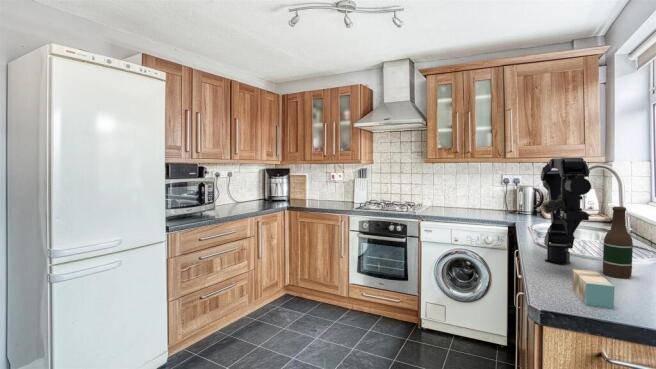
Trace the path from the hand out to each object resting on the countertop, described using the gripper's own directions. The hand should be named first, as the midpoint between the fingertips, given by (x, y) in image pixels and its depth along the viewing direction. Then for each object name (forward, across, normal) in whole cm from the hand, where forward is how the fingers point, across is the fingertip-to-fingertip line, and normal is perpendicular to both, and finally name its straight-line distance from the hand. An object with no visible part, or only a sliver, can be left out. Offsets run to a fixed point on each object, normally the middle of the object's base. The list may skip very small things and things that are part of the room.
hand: (569, 236), depth 119 cm
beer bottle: (+13, -3, +15) cm, 20 cm away
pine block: (+10, +18, 0) cm, 21 cm away
